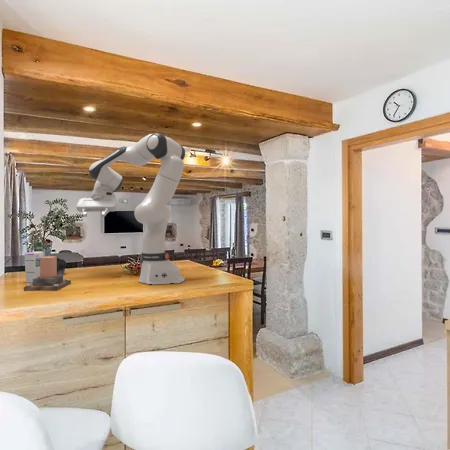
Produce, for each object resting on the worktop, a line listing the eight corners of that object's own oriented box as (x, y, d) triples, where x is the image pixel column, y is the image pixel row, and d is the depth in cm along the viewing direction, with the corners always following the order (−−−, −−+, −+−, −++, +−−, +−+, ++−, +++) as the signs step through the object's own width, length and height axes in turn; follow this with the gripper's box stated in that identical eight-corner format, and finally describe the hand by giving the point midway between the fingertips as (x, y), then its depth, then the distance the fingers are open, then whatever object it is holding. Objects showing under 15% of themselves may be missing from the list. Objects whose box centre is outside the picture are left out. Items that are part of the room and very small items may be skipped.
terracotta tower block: (56, 282, 146) (56, 256, 146) (51, 284, 141) (51, 257, 141) (45, 282, 146) (45, 256, 146) (40, 284, 141) (39, 257, 141)
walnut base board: (70, 283, 151) (70, 274, 151) (57, 290, 137) (57, 280, 137) (40, 283, 150) (40, 274, 150) (23, 290, 136) (23, 280, 136)
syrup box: (35, 283, 152) (35, 252, 151) (24, 282, 153) (24, 252, 152) (44, 280, 157) (44, 251, 157) (34, 280, 158) (34, 250, 158)
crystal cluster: (31, 277, 168) (31, 259, 166) (51, 271, 181) (51, 254, 180) (52, 281, 165) (52, 262, 163) (71, 274, 178) (71, 256, 176)
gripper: (78, 193, 170) (71, 211, 161) (117, 193, 172) (112, 211, 162) (81, 202, 175) (74, 220, 165) (119, 201, 176) (115, 219, 167)
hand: (94, 215), depth 164 cm, fingers open, 8 cm apart
